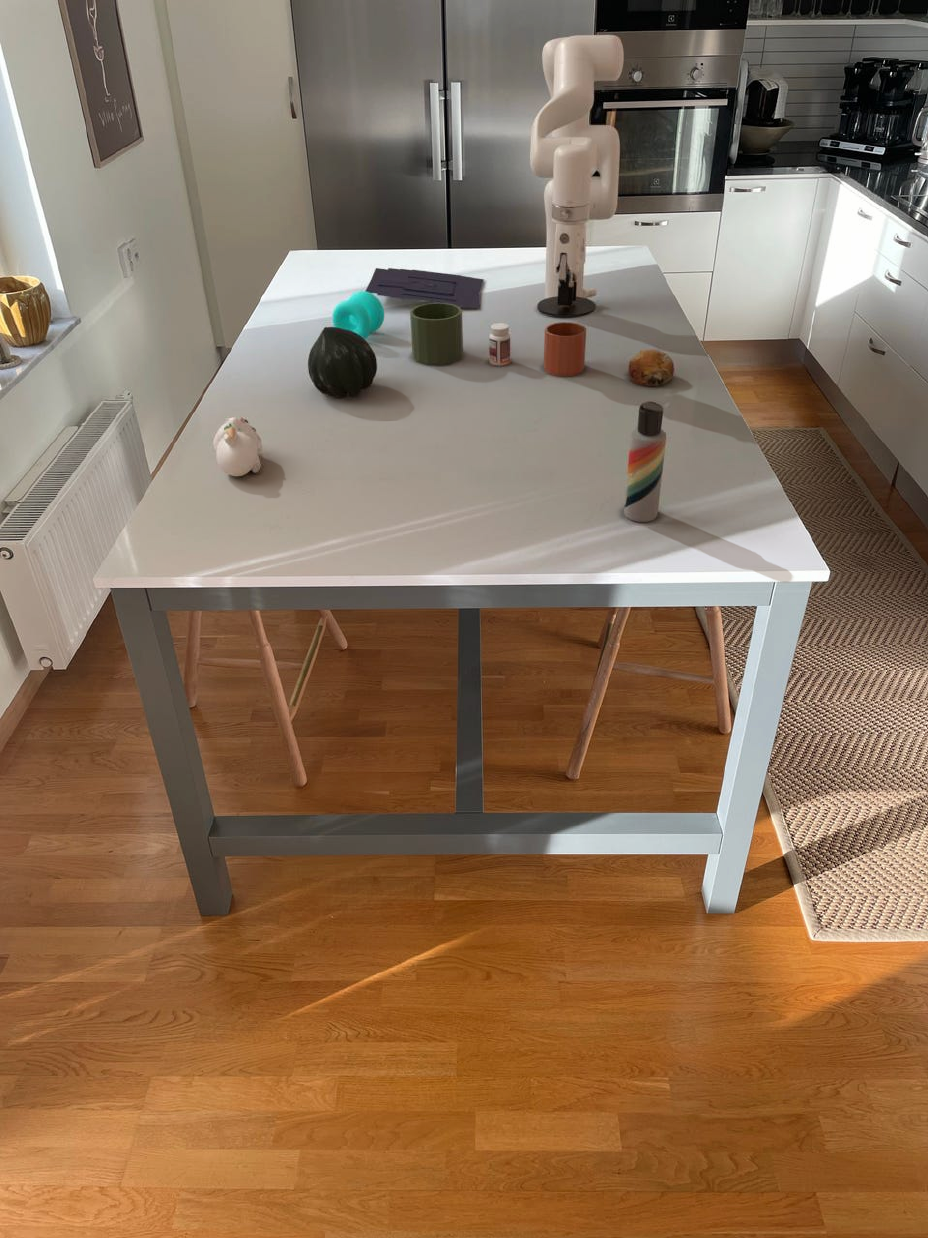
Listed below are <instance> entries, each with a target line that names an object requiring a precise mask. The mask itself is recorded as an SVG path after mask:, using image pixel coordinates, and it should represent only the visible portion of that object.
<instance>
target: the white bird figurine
mask: <svg viewBox="0 0 928 1238" xmlns="http://www.w3.org/2000/svg"><path fill="white" fill-rule="evenodd" d="M213 448H214V450H215V457H216V458H215V459H216V461H217V464H218V466H219V468H220V469H221V471H223V472H224V473H225V474H227V475H229V476H232V477H242V476H245V475H246V474H248V473H249V472H250V471H252V472H253V473H255V474H256V473H258V472H259V471H260V469H261V466H262V464H261V461H260V456H259V452H260V451H262V450H263V443H262V439H261V437H260V435H259V434H258V433H257V430H256V428H255V427H253V425H251V424H250V422H249V421H248V419H245V418H243V417H242V416H241V417H235V416H234V417H227V418H226V419H225V422H224V423H223V424H222V425H221V426H219V429H218V430H217V432H216V434H215V436H214V439H213Z"/></svg>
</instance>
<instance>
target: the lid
mask: <svg viewBox="0 0 928 1238" xmlns="http://www.w3.org/2000/svg"><path fill="white" fill-rule="evenodd" d="M572 287H573V288H574V281H572ZM536 308H537V310H538V311H539V312H540V313H541V314H543V313H544V314H543V315H545V314H546V315H545V316H549V315H550V316H549V317H554V316H556V317H555V318H578V317H584V316H587V315H590V314H592V313H594V312H595V311H596V309H597V304H596V302H594V301H593V300H591V299H589V298H587V299H586V298H583V297H577V296H576V300H575V301H573V304H572V306H562V305H558V296H556V297H550V298H546V299H545V298H544V299H542V300H540V301H539V302H537V304H536Z"/></svg>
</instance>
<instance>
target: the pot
mask: <svg viewBox="0 0 928 1238" xmlns="http://www.w3.org/2000/svg"><path fill="white" fill-rule="evenodd" d="M409 315H410V316H409V317H410V319H409V320H410V335H411V336H410V337H411V338H410V339H411V351H412V353H411V354H412V358H413V360H414V361H415V362H416V363H419V364H422V365H425V366H437V367H438V366H446V365H452V364H454V363H457V362H459V361H460V360H461V359H463V357H464V333H463V332H464V331H463V329H464V327H463V309H462V308H461V306H457V305H454V304H449V303H436V302H428V303H423V304H419V305H417V306H414V307H413V308H411V310H410V311H409Z"/></svg>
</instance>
